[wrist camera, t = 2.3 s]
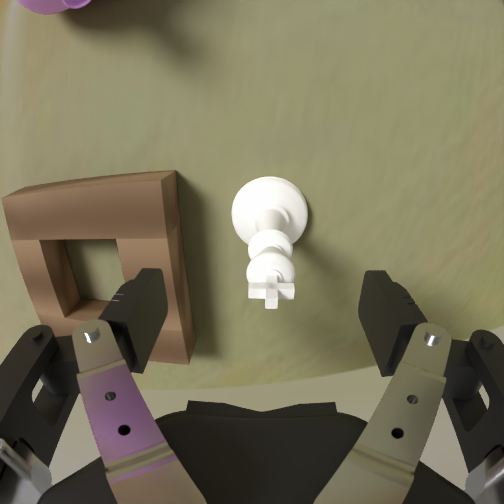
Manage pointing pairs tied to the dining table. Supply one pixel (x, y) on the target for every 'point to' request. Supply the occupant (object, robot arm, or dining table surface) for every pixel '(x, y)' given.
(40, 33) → the dining table surface
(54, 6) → the teapot
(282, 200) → the chess piece
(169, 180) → the socket block
